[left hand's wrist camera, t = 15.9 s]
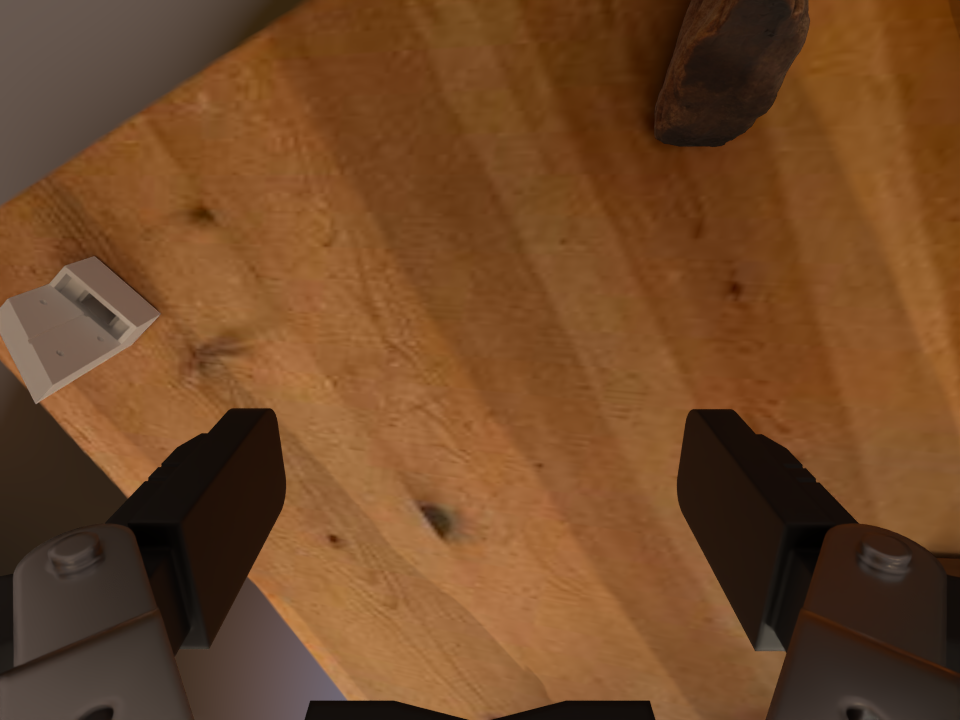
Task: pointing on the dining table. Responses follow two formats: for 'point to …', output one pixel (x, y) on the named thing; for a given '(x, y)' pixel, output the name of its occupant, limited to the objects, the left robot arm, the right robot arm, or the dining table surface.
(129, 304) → the white wedge bracket
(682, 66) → the decorative rock
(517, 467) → the dining table surface
